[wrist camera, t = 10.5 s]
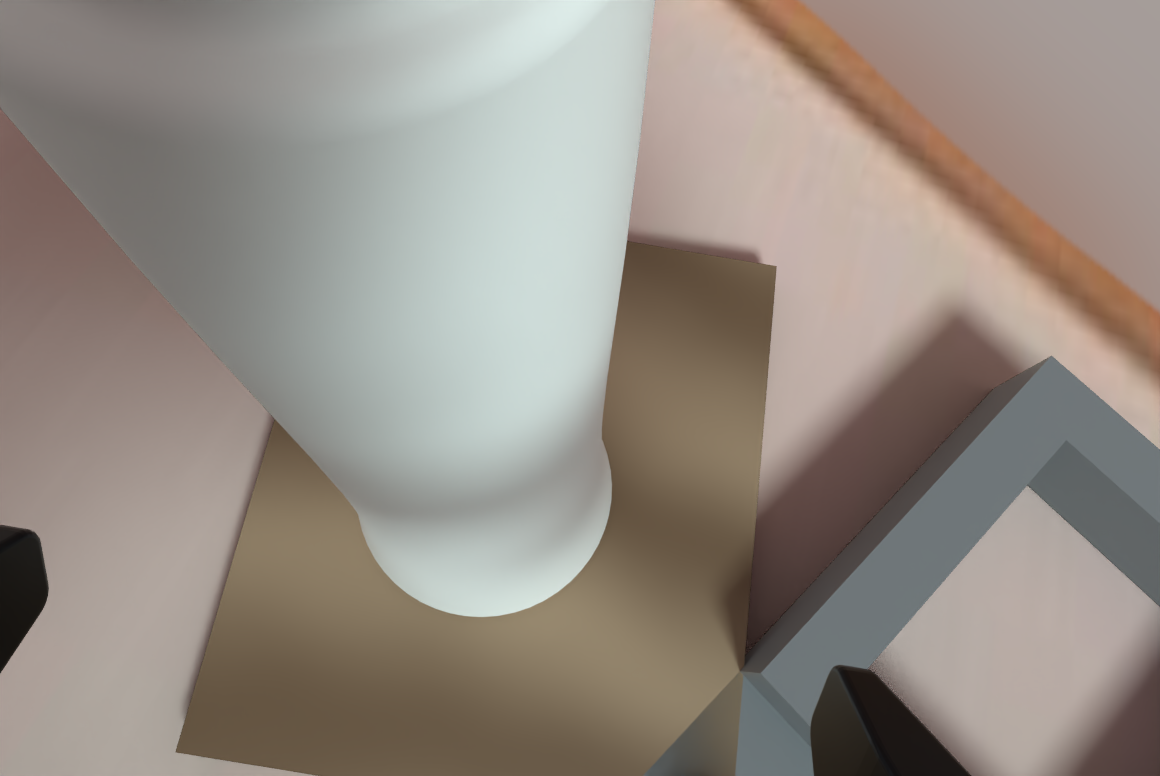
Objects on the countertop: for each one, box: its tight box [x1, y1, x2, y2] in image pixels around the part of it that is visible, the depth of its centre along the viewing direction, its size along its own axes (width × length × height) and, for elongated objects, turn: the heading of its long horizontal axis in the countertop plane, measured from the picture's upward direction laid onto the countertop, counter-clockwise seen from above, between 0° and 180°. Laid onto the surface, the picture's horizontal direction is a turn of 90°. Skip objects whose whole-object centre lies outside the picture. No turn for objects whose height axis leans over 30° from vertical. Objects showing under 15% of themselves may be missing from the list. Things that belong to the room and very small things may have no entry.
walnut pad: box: [176, 241, 777, 776], centre depth 19 cm, size 14×12×1 cm
